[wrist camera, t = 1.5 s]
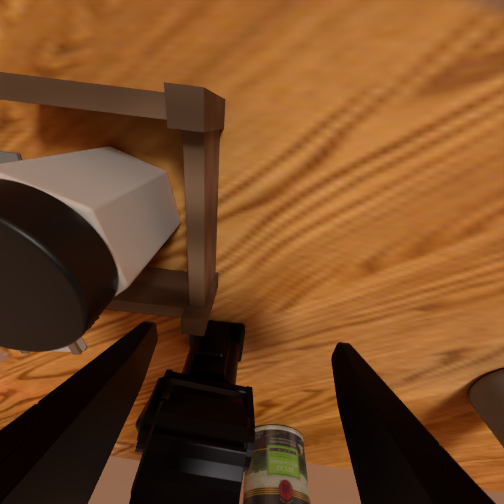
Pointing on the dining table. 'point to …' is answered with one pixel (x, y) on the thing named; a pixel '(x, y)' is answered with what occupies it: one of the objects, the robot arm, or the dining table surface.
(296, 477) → the coffee can
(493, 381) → the water bottle
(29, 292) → the jar
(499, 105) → the dining table surface
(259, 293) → the dining table surface
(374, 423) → the robot arm
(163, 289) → the brown u-shaped frame
